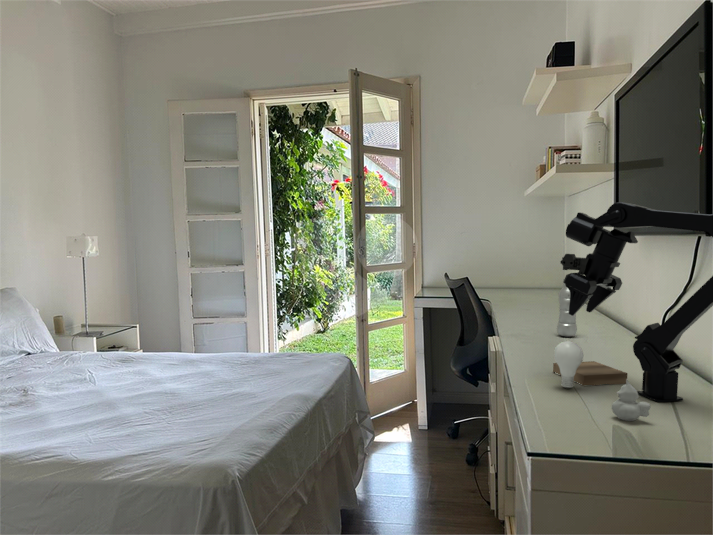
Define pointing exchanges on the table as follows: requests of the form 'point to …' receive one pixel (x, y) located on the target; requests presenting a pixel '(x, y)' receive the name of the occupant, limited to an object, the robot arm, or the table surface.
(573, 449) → the table surface
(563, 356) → the lightbulb
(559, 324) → the plastic bottle
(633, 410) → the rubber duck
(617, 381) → the walnut plinth
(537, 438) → the table surface
